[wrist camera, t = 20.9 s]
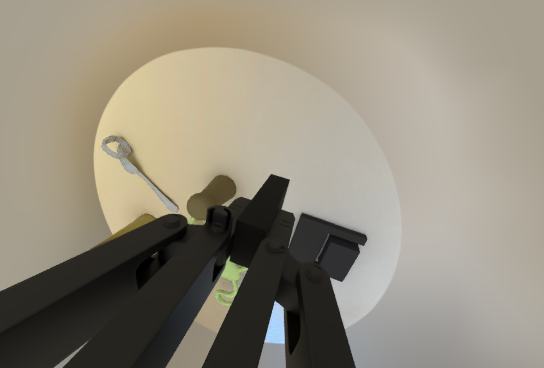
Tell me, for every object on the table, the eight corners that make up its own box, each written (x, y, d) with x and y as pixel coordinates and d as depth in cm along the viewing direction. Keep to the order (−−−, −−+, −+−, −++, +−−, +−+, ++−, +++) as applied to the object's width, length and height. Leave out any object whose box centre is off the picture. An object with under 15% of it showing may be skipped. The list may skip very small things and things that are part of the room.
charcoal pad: (357, 243, 42) (359, 252, 39) (342, 268, 45) (344, 279, 43) (330, 233, 43) (330, 242, 40) (317, 259, 46) (317, 269, 43)
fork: (179, 208, 53) (173, 214, 51) (116, 149, 48) (105, 152, 46) (185, 203, 52) (179, 209, 50) (121, 142, 47) (110, 145, 44)
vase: (140, 227, 57) (87, 263, 44) (140, 210, 54) (83, 243, 41) (159, 235, 56) (110, 274, 43) (159, 218, 53) (108, 254, 41)
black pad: (285, 255, 48) (284, 260, 47) (301, 212, 42) (301, 216, 41) (341, 277, 46) (342, 282, 45) (366, 235, 41) (367, 239, 39)
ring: (122, 133, 46) (100, 136, 41) (136, 151, 47) (117, 156, 42) (116, 140, 47) (94, 144, 43) (131, 157, 48) (111, 163, 43)
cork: (224, 203, 46) (197, 230, 37) (207, 184, 46) (174, 206, 36) (241, 190, 44) (217, 216, 34) (223, 170, 43) (194, 189, 33)
